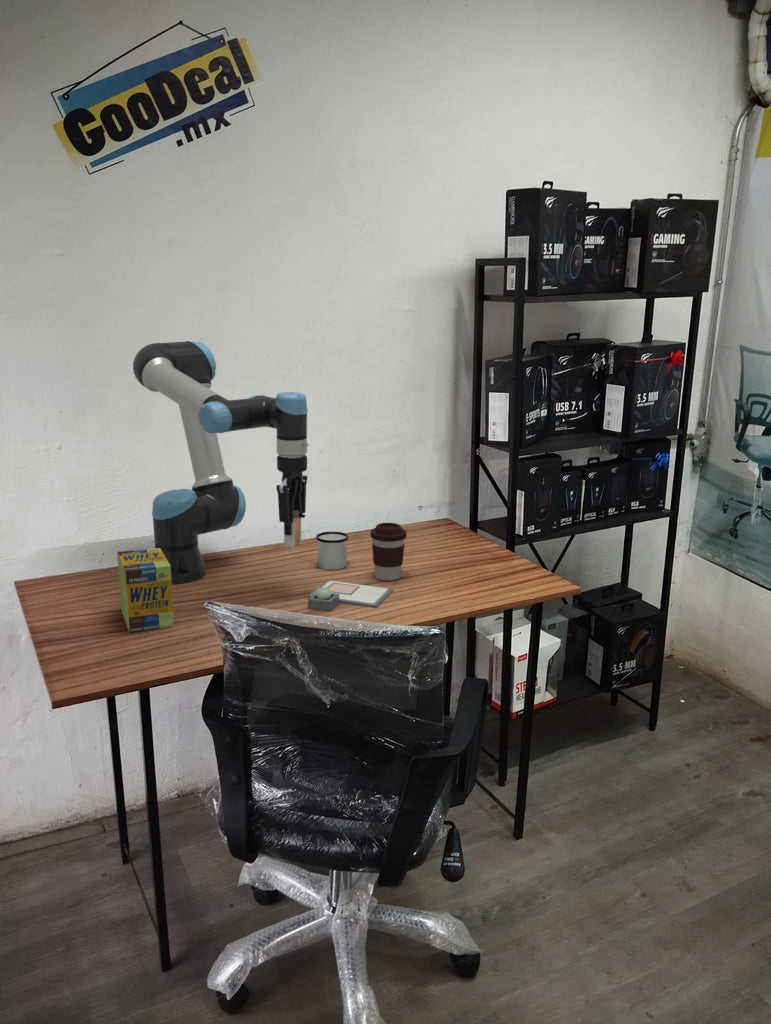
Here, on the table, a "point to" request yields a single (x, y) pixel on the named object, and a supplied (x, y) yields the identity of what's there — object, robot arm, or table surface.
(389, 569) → the coffee cup
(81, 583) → the table surface
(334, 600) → the button housing
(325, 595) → the button
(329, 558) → the mug
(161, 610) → the protein box
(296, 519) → the marker
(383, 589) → the picture board
